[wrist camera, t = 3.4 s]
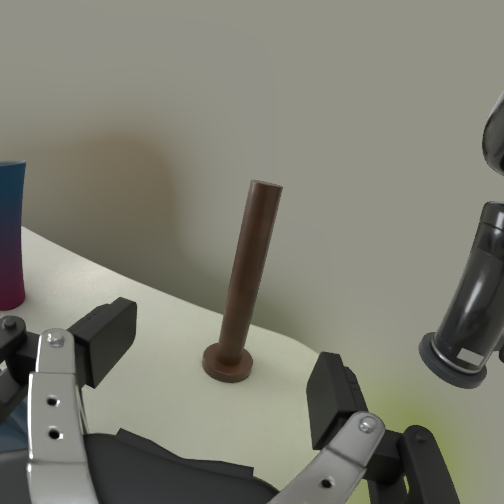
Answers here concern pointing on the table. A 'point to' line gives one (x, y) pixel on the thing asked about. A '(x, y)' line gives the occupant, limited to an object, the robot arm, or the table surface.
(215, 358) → the stirrer
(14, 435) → the bowl
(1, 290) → the cup
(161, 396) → the table surface
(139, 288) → the table surface
